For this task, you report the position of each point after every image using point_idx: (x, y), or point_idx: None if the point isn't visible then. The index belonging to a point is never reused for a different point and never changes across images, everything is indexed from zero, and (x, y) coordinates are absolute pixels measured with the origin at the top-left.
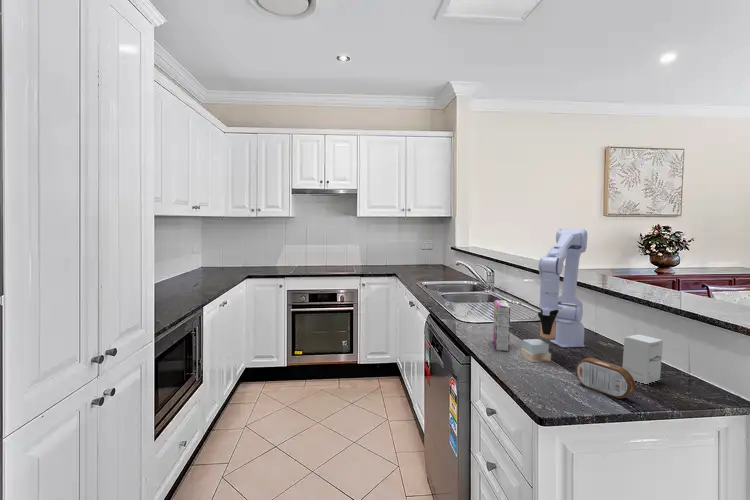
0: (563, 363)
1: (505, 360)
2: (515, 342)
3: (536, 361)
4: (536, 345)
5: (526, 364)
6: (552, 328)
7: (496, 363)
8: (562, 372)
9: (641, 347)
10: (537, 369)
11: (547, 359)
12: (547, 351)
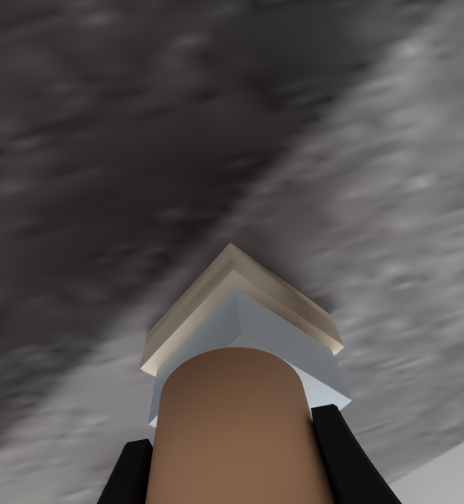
0: (214, 162)
1: (390, 399)
2: (52, 471)
3: (306, 297)
4: (324, 381)
5: (393, 315)
6: (301, 469)
7: (460, 406)
8: (424, 104)
9: None
10: (449, 245)
11: (249, 262)
12: (242, 298)
